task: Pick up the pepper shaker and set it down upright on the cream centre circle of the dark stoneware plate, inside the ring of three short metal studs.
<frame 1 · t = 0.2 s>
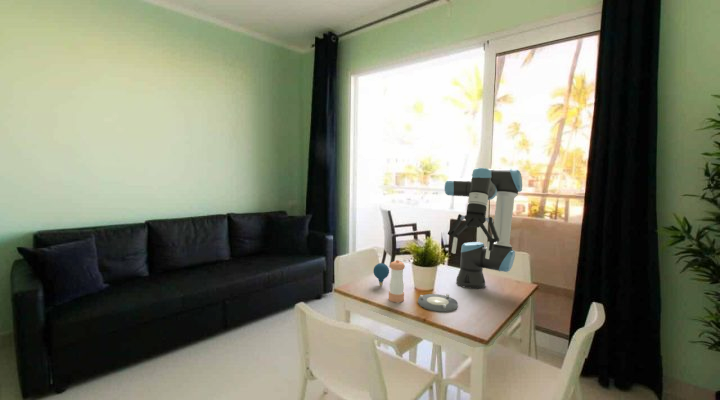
hand: (469, 255, 132), 28 cm above the table, tool tilted 20°, fingers open, 13 cm apart
stud plate: (437, 303, 154), on the table
pepper shaker: (396, 299, 158), on the table
light bulb: (380, 285, 177), on the table
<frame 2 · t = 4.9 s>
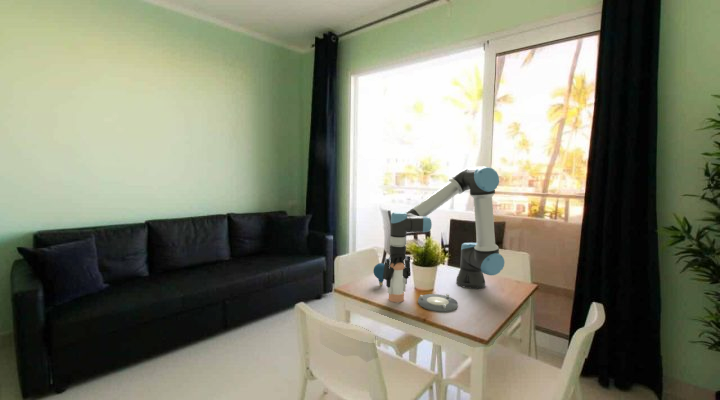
hand: (396, 292, 157), 4 cm above the table, tool pointing down, fingers closed on pepper shaker, 7 cm apart
pepper shaker: (396, 299, 158), on the table, touching gripper
everything else where it was.
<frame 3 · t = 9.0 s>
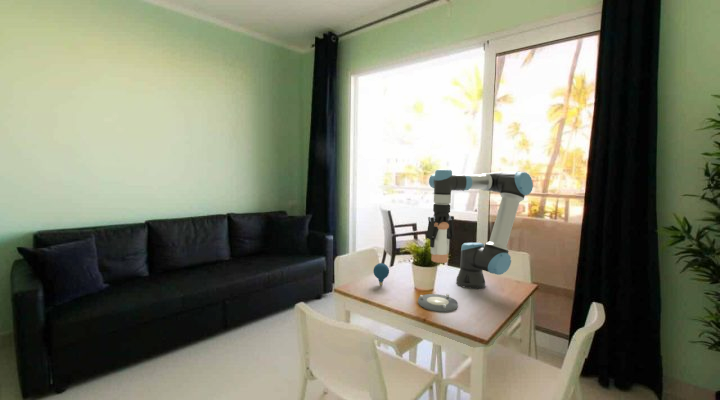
hand: (439, 253, 152), 24 cm above the table, tool pointing down, fingers closed on pepper shaker, 7 cm apart
pepper shaker: (439, 261, 152), point 20 cm above the table, touching gripper
everything else where it was.
when the fingers open (6 cm above the table, at t = 12.9 s): pepper shaker stays where it is, resting on stud plate.
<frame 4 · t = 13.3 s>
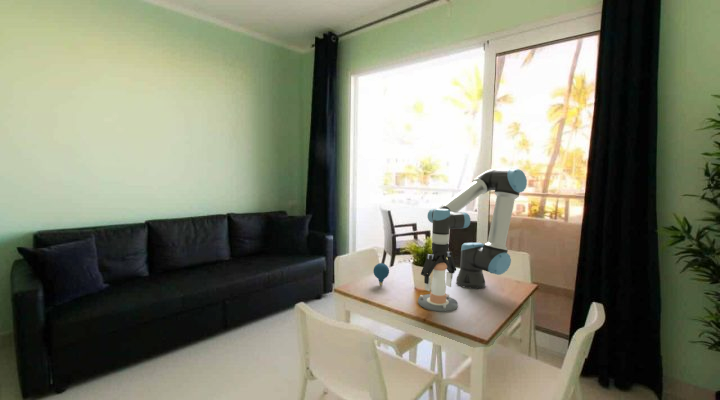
hand: (438, 288, 153), 7 cm above the table, tool pointing down, fingers open, 12 cm apart
pepper shaker: (437, 301, 154), point 1 cm above the table, touching stud plate
everything else where it was.
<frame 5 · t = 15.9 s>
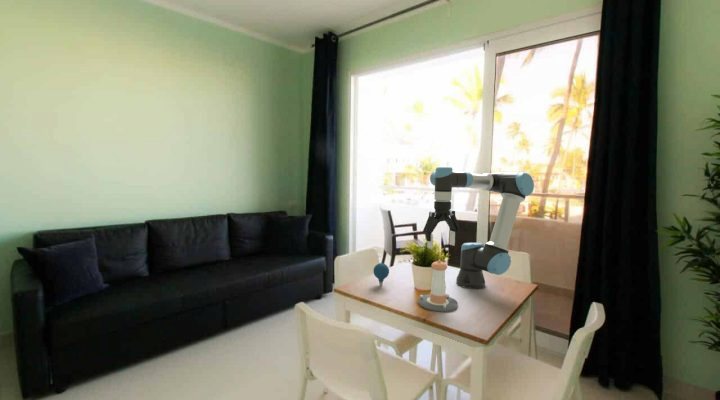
hand: (441, 246, 152), 27 cm above the table, tool pointing down, fingers open, 13 cm apart
nothing on the table moved.
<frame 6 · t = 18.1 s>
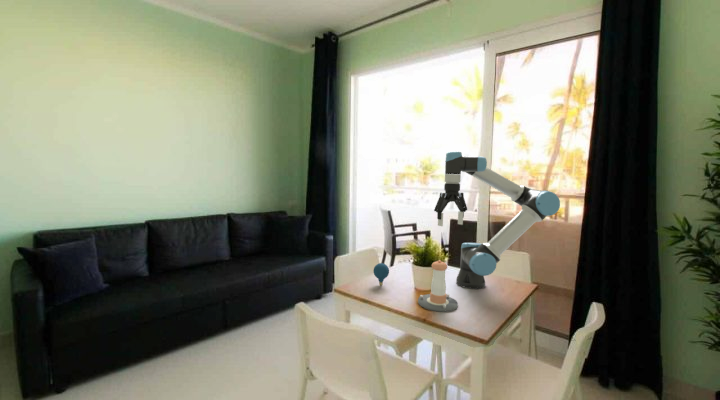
hand: (450, 225, 166), 35 cm above the table, tool pointing down, fingers open, 13 cm apart
nothing on the table moved.
at the end: pepper shaker inside the target area on the stud plate (0.1 cm from its centre), point 1.2 cm above the stud plate's base; pepper shaker tilted 0°; the gripper is holding nothing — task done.
